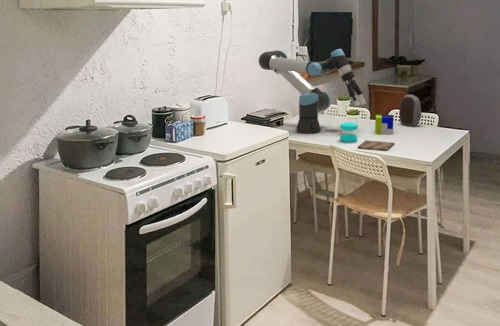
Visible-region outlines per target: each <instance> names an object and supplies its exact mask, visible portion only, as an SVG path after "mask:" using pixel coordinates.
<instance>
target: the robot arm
mask: <svg viewBox="0 0 500 326" xmlns="http://www.w3.org/2000/svg"><path fill="white" fill-rule="evenodd" d="M258 64H259V66H260V68H261V69H263V70H266V71H268V70H269V71H273V72H274V73H275V74H276V75H281V76H282V77H283V78H284V79H285V80H286V81H287V82H288V83H289V84H290V85H291V86H293V88H295V90H297V92H298V93H300V95H299V99H298V113H299V114H298V122H297V123H296V124H297V125H296V130H295V131H296V133H299V132H300V133H299V134H319V133H320V132H321V130H322V129H321V124H320V121H319V112H324V111H325V110H327V109H328V108H330V106H331V104H332V99H331V96H330V94H329V93H328V92H326V91H322V90H321V89H319V87H315V86H313V85H312V84H311V83H310V82H309V81H308V80H307V79H305V78H304V76H303V75H301V74H300V73H302V74H309V75H310V76H313V77H314V76H315V77H316V76H319V75H320V76H322V77H323V76H326V75H328V74H330V73H331V72H333V71H334V70H335V69H337V71H338V73H339V75H340V77H341V80H342V82H343V83H345V86H346V89H347V92H348V95H349V98H351V99H352V101H353V103H354V106H355V107H359V106H364V105H366V104H367V102H366V100H365V98H364V95H363V94H364V92H363V91H362V89H361V88H360V86H359V85H358V83H357V82H356V80H355V79H353V78H355V74H354V71H352V65H350V63H349V61H348V59H347V57H346V54H345V53H344V51H343V49H342V48H337V49H334V50H333V51H332V52H331V53H330V57H329V58H327V59H326V60H322V61H312V60H311V61H308V60H301V59H295V58H288V56H287V54H286V52H284V51H282V50H279V49H278V50H272V51H271V50H270V51H264V52H263V53H261V54H260V55H259V57H258Z"/></svg>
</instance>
